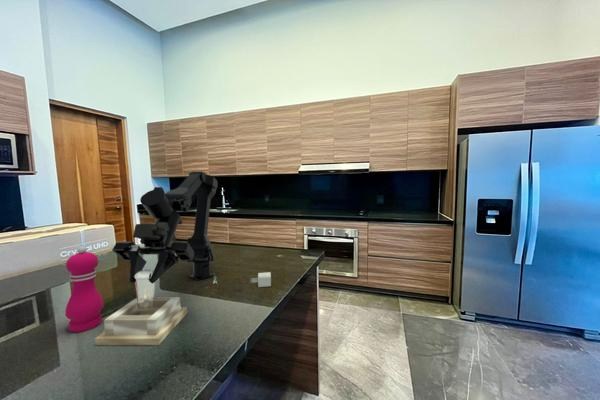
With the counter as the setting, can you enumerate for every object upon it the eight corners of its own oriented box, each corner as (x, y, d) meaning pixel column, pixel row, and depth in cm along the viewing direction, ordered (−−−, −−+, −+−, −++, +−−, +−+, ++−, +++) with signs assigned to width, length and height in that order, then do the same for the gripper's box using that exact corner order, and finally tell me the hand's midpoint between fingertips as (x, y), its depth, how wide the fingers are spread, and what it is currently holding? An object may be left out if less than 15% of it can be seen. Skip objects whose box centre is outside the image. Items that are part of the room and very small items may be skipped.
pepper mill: (81, 318, 66) (77, 243, 65) (110, 316, 67) (107, 242, 65) (57, 334, 59) (52, 250, 58) (90, 332, 59) (86, 250, 58)
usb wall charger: (271, 287, 86) (270, 275, 86) (250, 288, 85) (250, 277, 85) (270, 282, 90) (270, 271, 90) (250, 283, 89) (250, 272, 89)
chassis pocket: (136, 312, 69) (136, 294, 68) (187, 312, 69) (187, 294, 68) (95, 345, 55) (93, 323, 54) (158, 345, 55) (157, 323, 54)
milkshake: (141, 314, 58) (140, 272, 58) (131, 307, 61) (131, 267, 61) (161, 307, 62) (161, 267, 61) (151, 300, 65) (151, 263, 64)
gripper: (115, 210, 64) (80, 267, 54) (188, 210, 64) (166, 267, 54) (136, 234, 72) (110, 287, 62) (201, 234, 72) (184, 287, 62)
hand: (141, 282), depth 60 cm, fingers closed on milkshake, 4 cm apart
